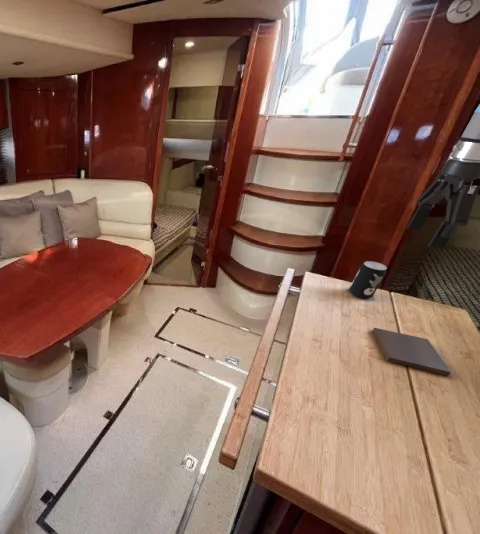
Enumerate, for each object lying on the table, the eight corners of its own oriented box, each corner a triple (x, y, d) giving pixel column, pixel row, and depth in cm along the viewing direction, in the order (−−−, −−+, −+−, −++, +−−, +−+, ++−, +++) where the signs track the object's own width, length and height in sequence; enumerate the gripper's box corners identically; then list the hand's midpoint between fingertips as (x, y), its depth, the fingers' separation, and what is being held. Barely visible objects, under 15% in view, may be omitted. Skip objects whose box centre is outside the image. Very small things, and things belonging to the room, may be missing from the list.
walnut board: (424, 343, 87) (427, 339, 86) (447, 376, 77) (451, 372, 76) (371, 331, 92) (374, 327, 91) (386, 361, 82) (389, 357, 81)
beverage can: (353, 298, 106) (369, 269, 100) (344, 288, 112) (358, 259, 105) (376, 300, 105) (393, 271, 99) (365, 290, 110) (381, 261, 104)
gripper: (427, 151, 87) (390, 220, 98) (479, 169, 68) (426, 253, 78) (463, 152, 84) (421, 223, 95) (528, 172, 65) (466, 259, 75)
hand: (423, 237), depth 87 cm, fingers open, 13 cm apart
